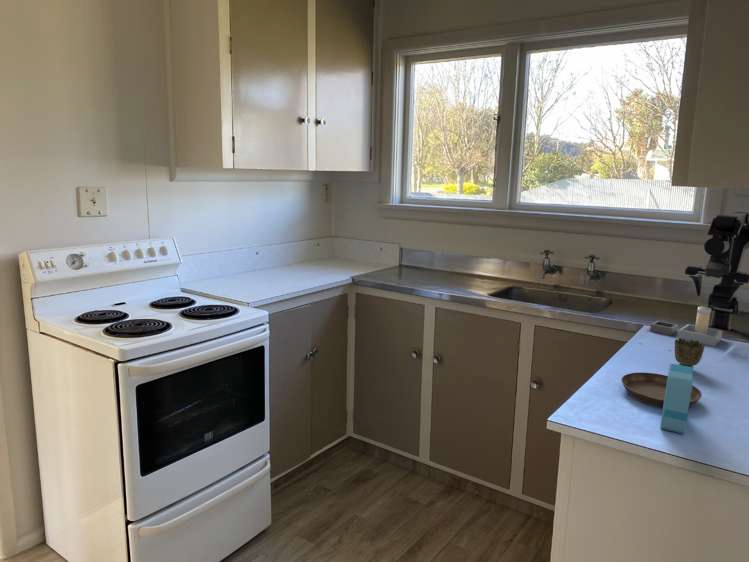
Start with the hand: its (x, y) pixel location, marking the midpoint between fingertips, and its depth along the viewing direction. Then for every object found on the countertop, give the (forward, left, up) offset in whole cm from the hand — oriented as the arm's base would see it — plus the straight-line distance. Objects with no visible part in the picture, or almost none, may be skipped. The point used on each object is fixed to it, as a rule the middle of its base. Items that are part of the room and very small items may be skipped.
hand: (713, 298), depth 192 cm
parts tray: (+11, 0, -13) cm, 17 cm away
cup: (+44, +4, -13) cm, 46 cm away
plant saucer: (+71, +5, -14) cm, 72 cm away
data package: (+85, +12, -13) cm, 87 cm away
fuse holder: (+11, -11, -13) cm, 20 cm away
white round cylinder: (+11, 0, -12) cm, 17 cm away
